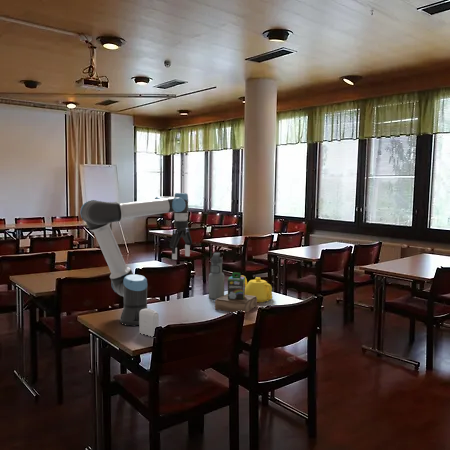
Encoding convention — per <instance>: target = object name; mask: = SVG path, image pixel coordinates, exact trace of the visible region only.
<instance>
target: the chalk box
mask: <svg viewBox="0 0 450 450" xmlns="http://www.w3.org/2000/svg"><path fill="white" fill-rule="evenodd" d="M231 274H232V275H231V276H229V277H228V279H227V294H228V299H239V300H243V299H244V297H245V277H246V276H245V277H242V276H241V275H242V273H241V272H232V273H231Z"/></svg>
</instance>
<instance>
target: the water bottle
mask: <svg viewBox="0 0 450 450" xmlns="http://www.w3.org/2000/svg"><path fill="white" fill-rule="evenodd" d="M210 259H211V261H210V263H211V265H210V267H209V274H208V298H209V299H211V300H216V299H217V298H219V297H221V296H224V295H225V274H224V272H223V258H222V257H221V252H214V253H212V257H211V258H210Z"/></svg>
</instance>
